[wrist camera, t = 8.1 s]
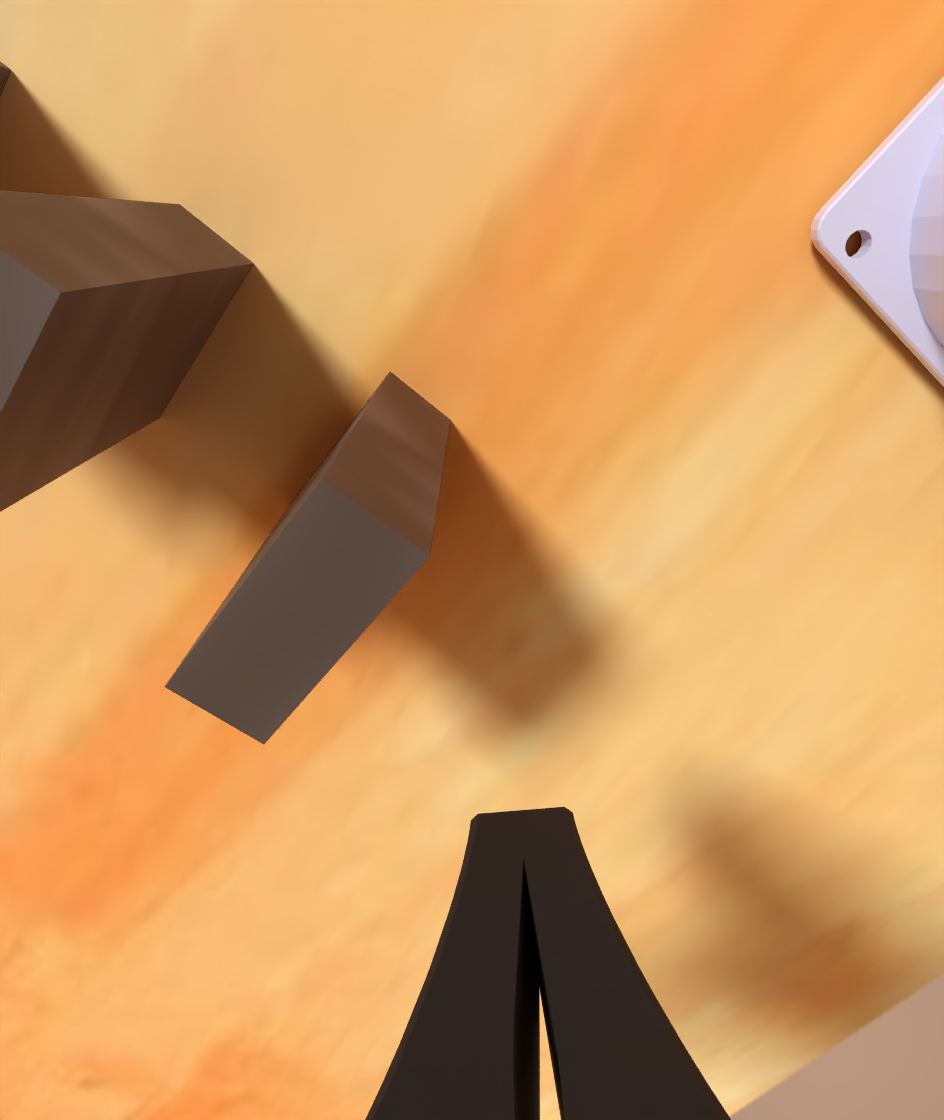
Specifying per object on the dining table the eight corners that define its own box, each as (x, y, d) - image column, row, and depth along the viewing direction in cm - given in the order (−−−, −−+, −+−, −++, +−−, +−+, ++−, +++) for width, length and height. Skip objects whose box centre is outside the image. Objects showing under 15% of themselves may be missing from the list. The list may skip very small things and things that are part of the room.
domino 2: (450, 419, 16) (429, 556, 9) (346, 548, 18) (264, 744, 11) (389, 371, 16) (321, 478, 9) (288, 507, 17) (164, 686, 10)
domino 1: (253, 263, 15) (60, 292, 8) (159, 418, 16) (-70, 552, 9) (179, 204, 14) (-93, 182, 7) (89, 369, 16) (-205, 475, 9)
